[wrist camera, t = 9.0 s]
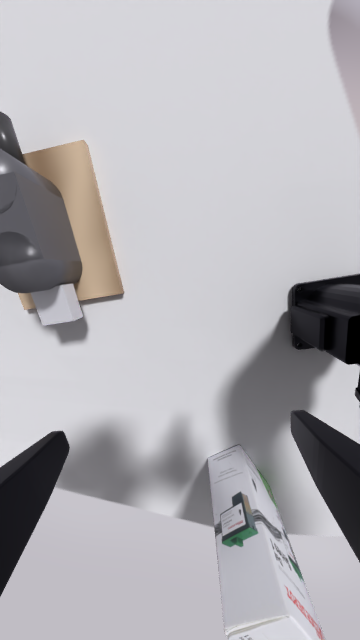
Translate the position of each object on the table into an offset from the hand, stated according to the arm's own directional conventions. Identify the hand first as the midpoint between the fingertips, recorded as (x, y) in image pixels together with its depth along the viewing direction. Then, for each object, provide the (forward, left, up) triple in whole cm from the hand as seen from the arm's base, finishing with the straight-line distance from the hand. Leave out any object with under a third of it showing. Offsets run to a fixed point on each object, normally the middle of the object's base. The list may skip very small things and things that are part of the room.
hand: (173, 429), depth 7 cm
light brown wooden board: (+10, -11, -12) cm, 19 cm away
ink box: (-4, +20, -12) cm, 24 cm away
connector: (+10, -11, -11) cm, 18 cm away
